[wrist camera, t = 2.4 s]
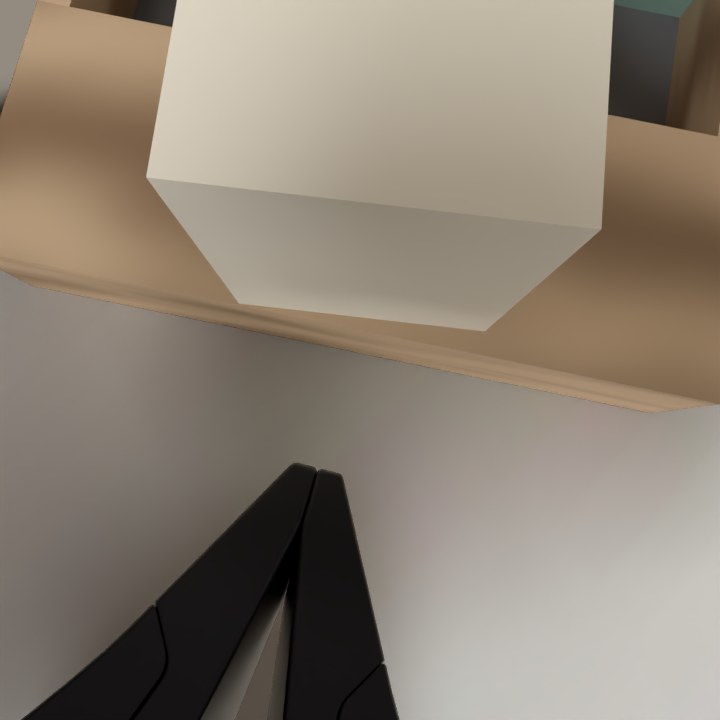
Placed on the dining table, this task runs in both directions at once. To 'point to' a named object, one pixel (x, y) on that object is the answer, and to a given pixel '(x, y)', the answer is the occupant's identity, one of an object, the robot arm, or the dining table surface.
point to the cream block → (385, 149)
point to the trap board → (373, 336)
